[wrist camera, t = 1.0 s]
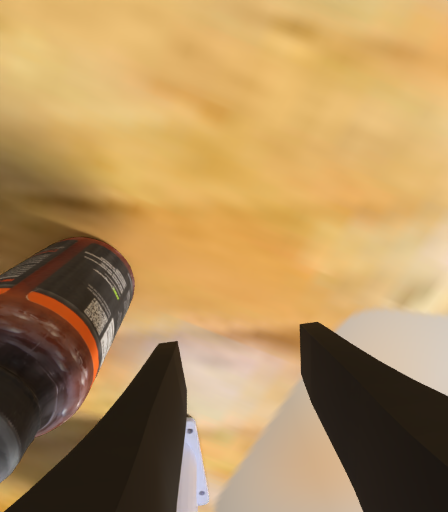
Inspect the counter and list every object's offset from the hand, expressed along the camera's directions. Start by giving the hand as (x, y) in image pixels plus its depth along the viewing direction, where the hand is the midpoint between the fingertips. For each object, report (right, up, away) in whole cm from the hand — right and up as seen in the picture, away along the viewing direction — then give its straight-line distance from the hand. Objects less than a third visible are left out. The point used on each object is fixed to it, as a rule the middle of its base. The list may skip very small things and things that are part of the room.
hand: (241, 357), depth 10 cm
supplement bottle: (-9, +2, +9) cm, 13 cm away
